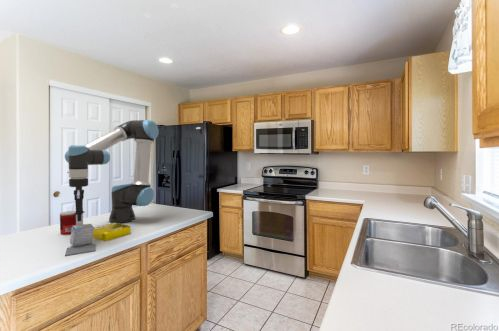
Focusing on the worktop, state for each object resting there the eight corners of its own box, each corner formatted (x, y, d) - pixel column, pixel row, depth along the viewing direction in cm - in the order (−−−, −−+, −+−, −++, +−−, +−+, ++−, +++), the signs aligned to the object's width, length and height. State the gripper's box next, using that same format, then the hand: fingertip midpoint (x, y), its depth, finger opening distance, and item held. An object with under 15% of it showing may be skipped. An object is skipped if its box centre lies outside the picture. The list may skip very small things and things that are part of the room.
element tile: (105, 242, 124) (104, 232, 124) (88, 237, 132) (87, 228, 132) (132, 234, 138) (132, 225, 137) (115, 229, 145) (115, 221, 145)
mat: (95, 244, 120) (95, 243, 120) (95, 251, 112) (95, 250, 112) (67, 248, 115) (67, 247, 115) (64, 256, 107) (64, 255, 107)
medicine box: (88, 239, 124) (91, 223, 123) (91, 244, 121) (94, 227, 120) (69, 242, 118) (72, 225, 117) (72, 247, 115) (75, 229, 114)
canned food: (81, 230, 140) (81, 211, 140) (67, 235, 133) (67, 214, 132) (71, 229, 142) (70, 210, 142) (56, 234, 135) (56, 213, 134)
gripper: (70, 177, 123) (71, 224, 124) (67, 179, 112) (68, 232, 113) (88, 176, 127) (89, 222, 128) (87, 179, 116) (88, 229, 117)
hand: (79, 227), depth 120 cm, fingers closed
